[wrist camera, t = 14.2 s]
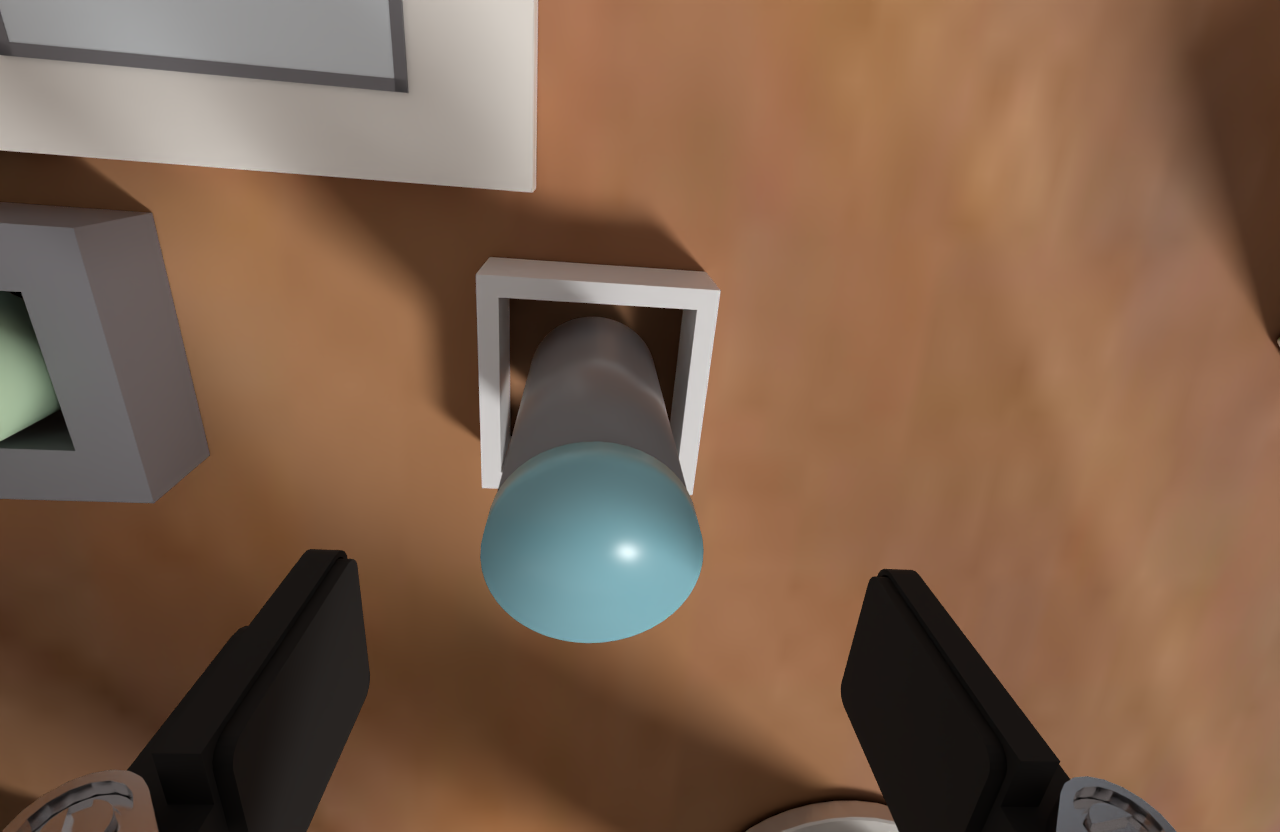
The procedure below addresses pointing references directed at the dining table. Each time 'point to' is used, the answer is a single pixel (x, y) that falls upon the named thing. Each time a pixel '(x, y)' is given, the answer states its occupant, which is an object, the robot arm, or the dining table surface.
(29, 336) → the button
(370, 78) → the picture board
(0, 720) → the dining table surface
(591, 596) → the marker
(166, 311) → the button housing
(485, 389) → the marker holder
